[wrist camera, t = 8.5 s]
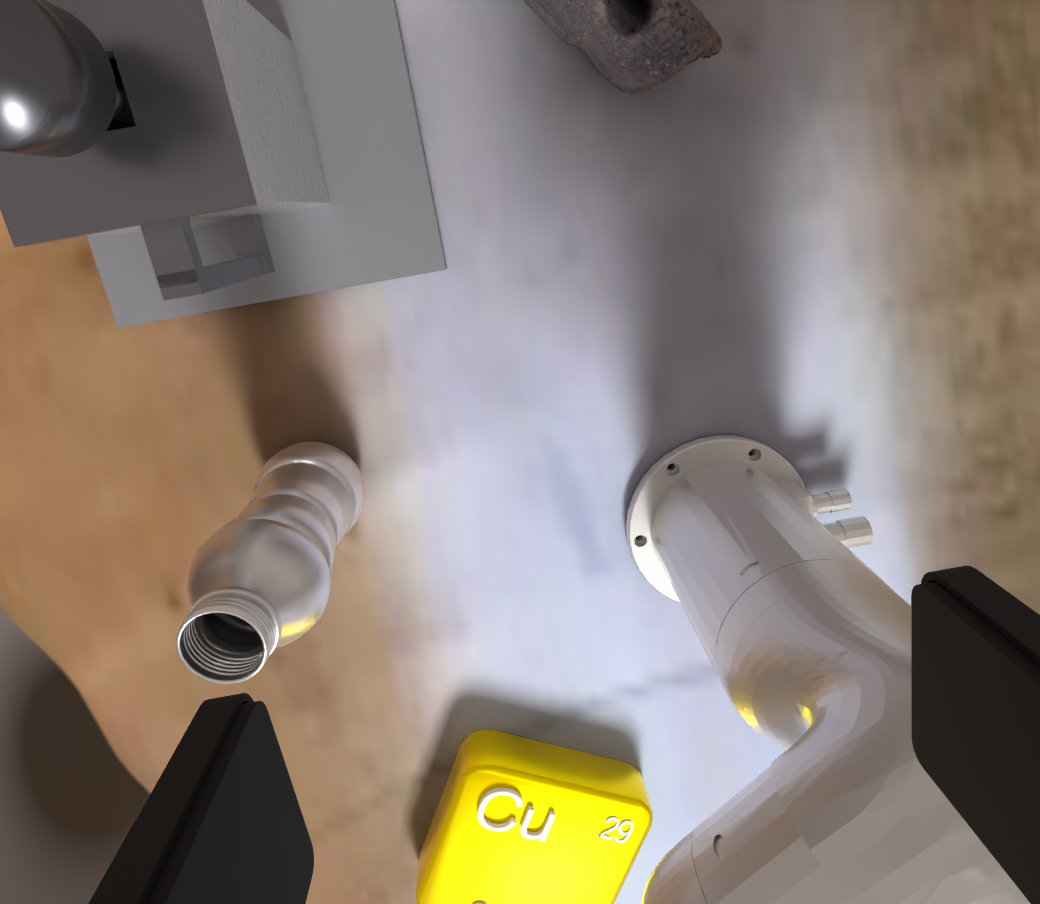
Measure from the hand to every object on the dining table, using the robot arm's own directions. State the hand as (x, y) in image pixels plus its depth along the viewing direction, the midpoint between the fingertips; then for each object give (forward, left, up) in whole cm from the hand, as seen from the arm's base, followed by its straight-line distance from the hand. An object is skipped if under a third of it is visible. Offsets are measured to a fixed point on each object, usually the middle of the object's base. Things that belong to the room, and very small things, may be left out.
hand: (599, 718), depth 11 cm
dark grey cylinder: (+13, -13, -33) cm, 38 cm away
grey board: (+13, -13, -38) cm, 42 cm away
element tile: (+5, +39, -39) cm, 56 cm away
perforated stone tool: (-7, -17, -39) cm, 43 cm away
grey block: (+13, -12, -37) cm, 41 cm away
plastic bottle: (+14, +8, -38) cm, 42 cm away
